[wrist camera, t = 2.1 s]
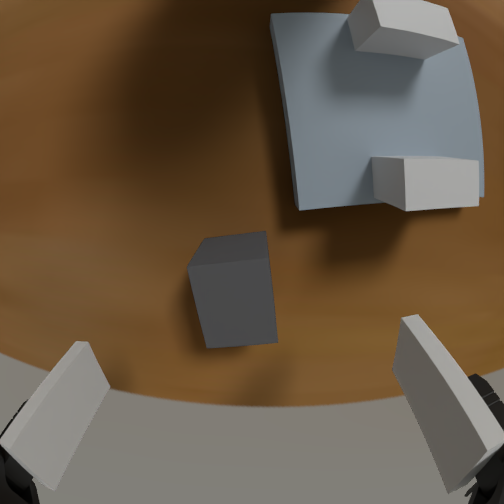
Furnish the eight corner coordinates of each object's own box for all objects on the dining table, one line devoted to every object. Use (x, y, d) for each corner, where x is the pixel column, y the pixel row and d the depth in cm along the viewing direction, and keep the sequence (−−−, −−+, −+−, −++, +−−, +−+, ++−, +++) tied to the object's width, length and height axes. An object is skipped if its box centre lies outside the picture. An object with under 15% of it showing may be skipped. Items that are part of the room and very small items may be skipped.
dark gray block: (217, 305, 20) (206, 348, 15) (204, 238, 19) (186, 266, 14) (273, 299, 20) (278, 342, 15) (265, 230, 18) (268, 257, 14)
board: (294, 204, 18) (312, 228, 12) (269, 26, 14) (274, -22, 8) (467, 192, 17) (521, 209, 11) (448, 44, 13) (495, 24, 7)
